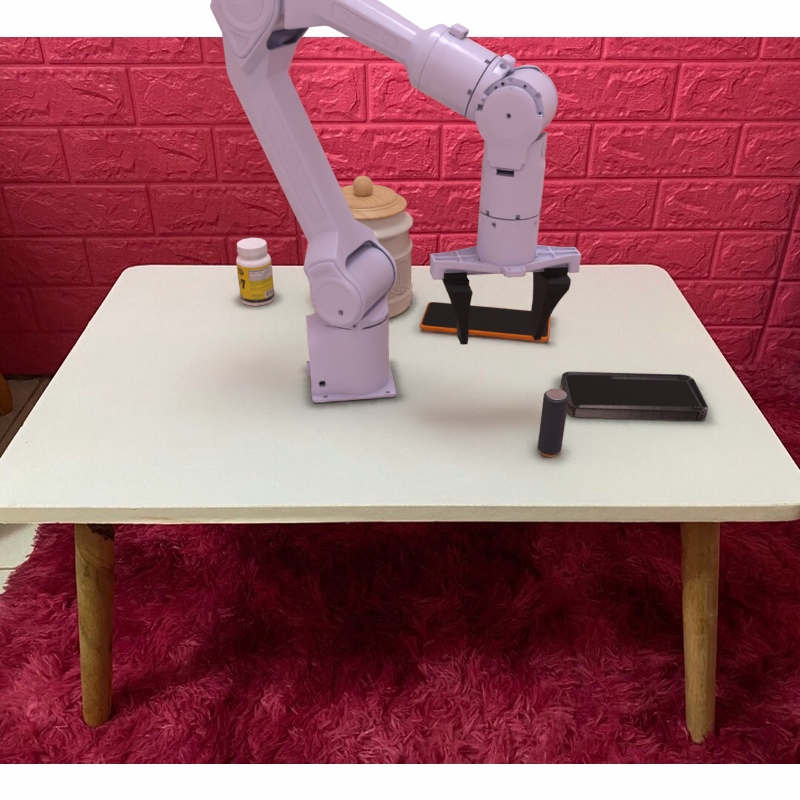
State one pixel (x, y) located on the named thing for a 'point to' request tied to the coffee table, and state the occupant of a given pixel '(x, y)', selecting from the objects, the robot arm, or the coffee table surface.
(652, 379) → the phone
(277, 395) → the coffee table surface
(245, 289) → the supplement bottle
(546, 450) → the lipstick
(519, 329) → the smartphone
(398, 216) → the jar
